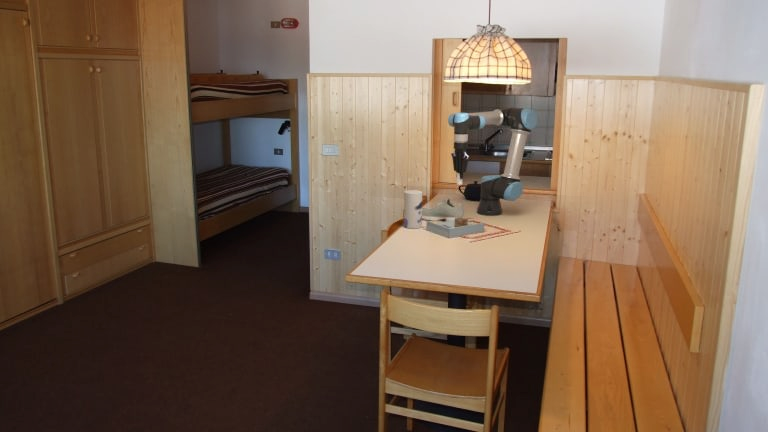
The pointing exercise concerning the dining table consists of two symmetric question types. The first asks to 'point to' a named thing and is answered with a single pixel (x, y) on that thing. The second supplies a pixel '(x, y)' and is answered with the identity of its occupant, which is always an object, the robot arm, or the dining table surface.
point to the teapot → (472, 191)
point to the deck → (454, 228)
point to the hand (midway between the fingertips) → (459, 184)
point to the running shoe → (443, 211)
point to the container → (413, 209)
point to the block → (461, 222)
